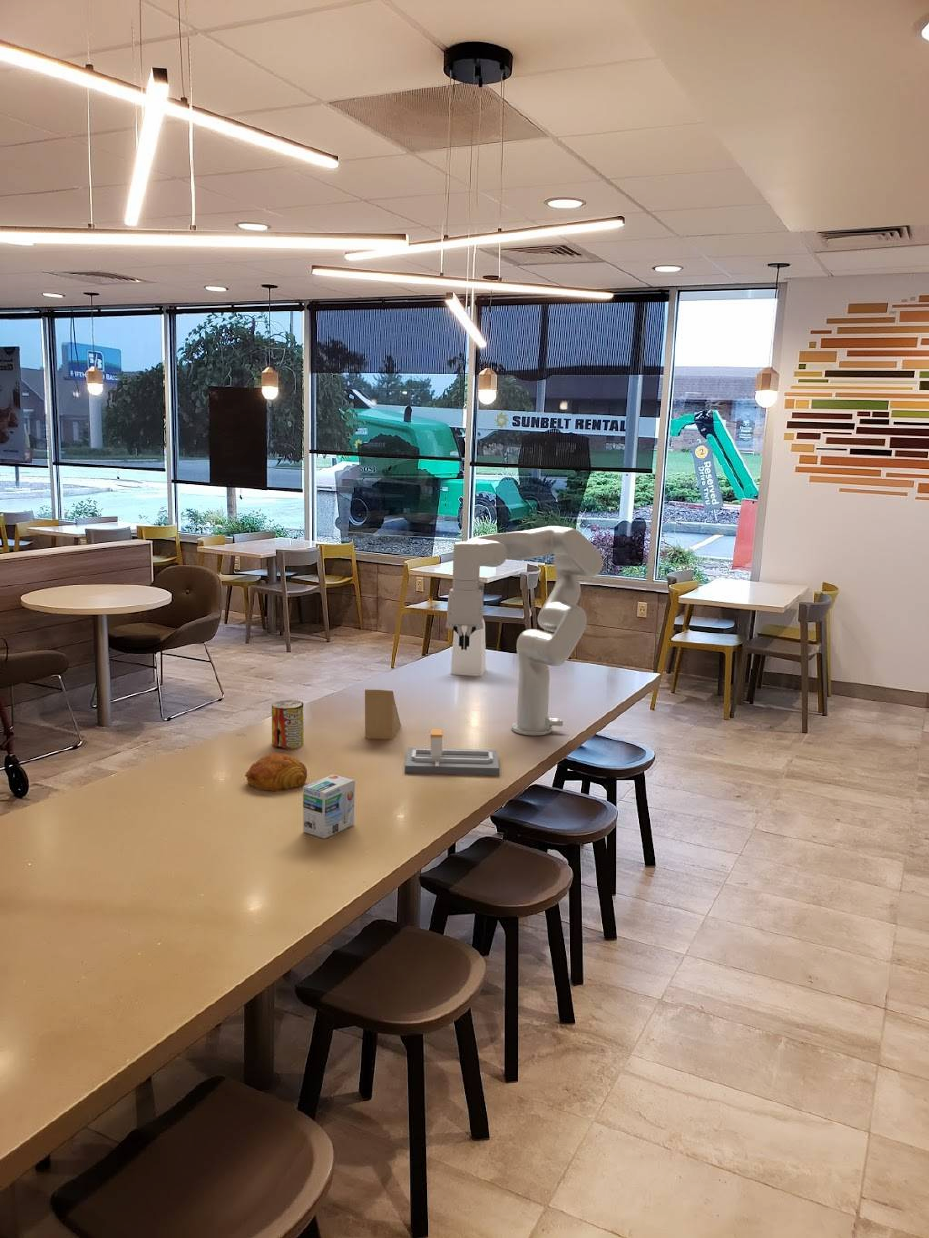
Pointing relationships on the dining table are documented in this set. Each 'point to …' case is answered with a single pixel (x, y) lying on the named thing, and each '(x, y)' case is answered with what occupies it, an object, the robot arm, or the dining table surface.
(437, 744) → the fader knob
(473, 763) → the board
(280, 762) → the croissant
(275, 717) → the beverage can
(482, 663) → the white tall block
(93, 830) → the dining table surface
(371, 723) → the sandwich container
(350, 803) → the light bulb box
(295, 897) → the dining table surface
